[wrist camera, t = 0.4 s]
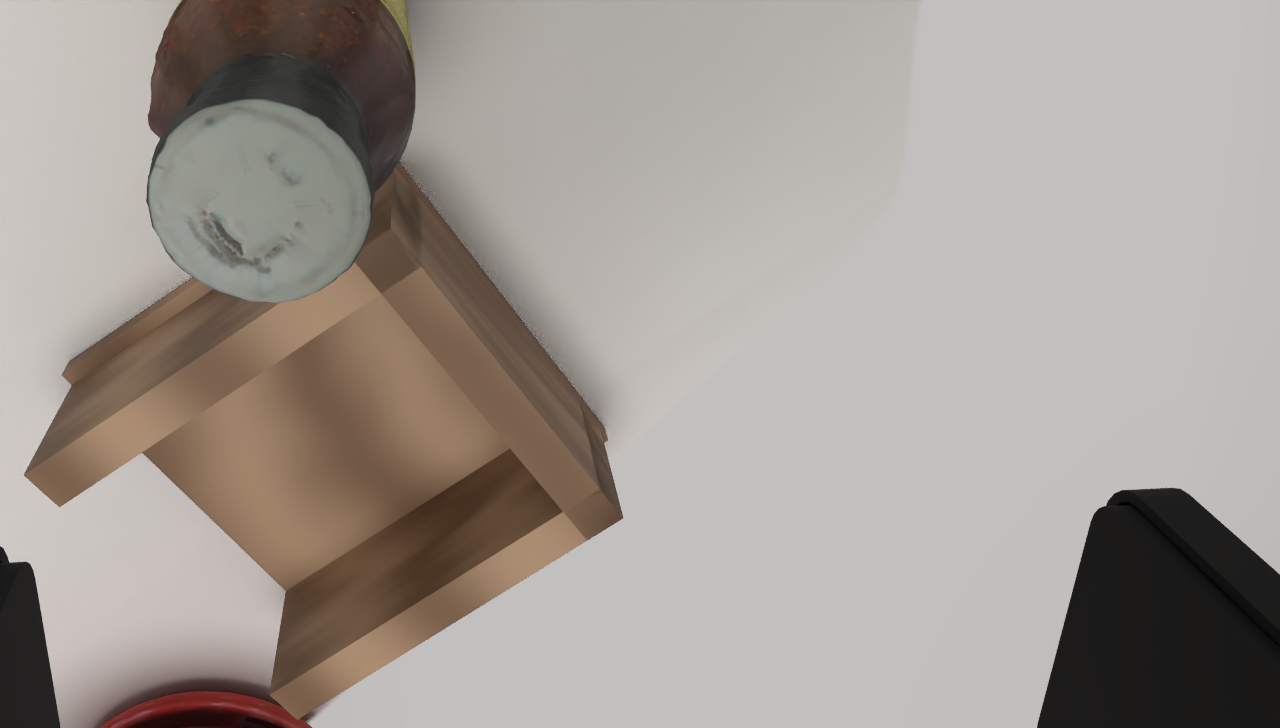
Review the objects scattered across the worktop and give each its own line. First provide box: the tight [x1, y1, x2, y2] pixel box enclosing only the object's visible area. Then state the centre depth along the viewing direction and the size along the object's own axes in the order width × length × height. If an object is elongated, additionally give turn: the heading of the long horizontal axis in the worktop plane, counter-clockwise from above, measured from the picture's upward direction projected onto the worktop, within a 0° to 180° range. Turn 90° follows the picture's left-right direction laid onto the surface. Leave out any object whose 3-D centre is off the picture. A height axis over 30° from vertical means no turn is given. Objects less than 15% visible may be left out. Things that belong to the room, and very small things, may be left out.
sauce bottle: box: [146, 0, 415, 303], centre depth 31 cm, size 7×6×20 cm
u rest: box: [24, 162, 623, 720], centre depth 43 cm, size 14×14×7 cm
